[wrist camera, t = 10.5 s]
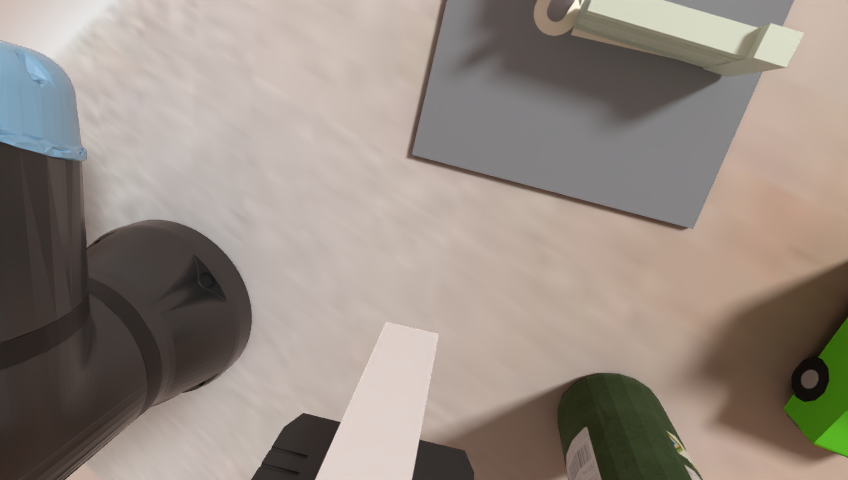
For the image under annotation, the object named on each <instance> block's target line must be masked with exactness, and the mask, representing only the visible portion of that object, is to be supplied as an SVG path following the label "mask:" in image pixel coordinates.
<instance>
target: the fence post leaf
mask: <svg viewBox="0 0 848 480" xmlns="http://www.w3.org/2000/svg"><path fill="white" fill-rule="evenodd" d="M574 1H575V0H551V1H550V4H549V6H548V9H547V16H548V18H549V19H550V20H551V21H553V22H558V21H560V20H562V19H563V18H564V17H565V15H566V14H567V12H568V10H569V9H570V7H571V6H572V4H573V3H574Z"/></svg>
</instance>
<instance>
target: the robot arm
mask: <svg viewBox="0 0 848 480" xmlns="http://www.w3.org/2000/svg"><path fill="white" fill-rule="evenodd" d="M86 159H87V152H86V149H85V148H84V147H83V146H82V145H81V137H80V128H79V120H78V112H77V104H76V96H75V91H74V87H73V85H72V82H71V80H70V79H69V77H68V75H67V74H66V73H65V71H64V70H63V69H62V68H61V67H60V66H59V65H58V64H56V63H55V62H54V61H53V60H51V59H50V58H48V57H47V56H45V55H43V54H41V53H39V52H37V51H34V50H31V49H29V48H25V47H22V46H18V45H15V44H12V43H8V42H4V41H1V40H0V480H65V479H66V478H67V477H69V476H70V475H71V474H72V473H73V472H74V471H76V470H77V469H78V468H79V467H80V466H81V465H83V464H84V463H85V462H86V461H87V460H88V459H90V458H91V457H92V456H93V455H94V454H95V453H97V452H98V451H99V450H100V449H101V448H102V447H104V446H105V445H106V444H107V443H108V442H110V441H111V440H112V439H113V438H114V437H115V436H117V435H118V434H119V433H120V432H121V431H122V430H124V429H125V428H126V427H127V426H128V425H129V424H130V423H132V422H133V421H134V420H135V419H136V418H138V417H139V416H140V415H141V414H143V413H144V412H145V411H146V410H147V409H149V408H150V407H152V406H155V405H158V404H160V403H162V402H165V401H167V400H169V399H171V398H174V397H175V396H177V395H179V394H180V393H184V392H189V391H192V390H195V389H198V388H200V387H203V386H205V385H207V384H209V383H210V382H212V381H213V380H215V379H216V378H218V377H219V376H220V375H221V374H222V373H223V372H225V371H226V370H227V369H228V368H229V367H230V366H231V365H232V364H233V363H234V362H235V361H236V360H237V359H238V358H239V357H240V355H241V354H242V352H243V350H244V349H245V346H246V344H247V342H248V339H249V335H250V331H251V322H252V315H251V305H250V300H249V296H248V292H247V290H246V287H245V284H244V282H243V280H242V278H241V276H240V274H239V272H238V270H237V269H236V267H235V266H234V264H233V263H232V262H231V260H230V259H229V258H228V256H227V255H226V254H225V253H224V252H223V251H222V250H221V249H220V248H219V247H218V246H217V245H216V244H215V243H213V242H212V241H211V240H210V239H208V238H207V237H205V236H204V235H202V234H201V233H199V232H197V231H196V230H194V229H192V228H189V227H187V226H185V225H182V224H179V223H175V222H171V221H165V220H147V221H141V222H137V223H133V224H130V225H127V226H123V227H120V228H117V229H114V230H112V231H110V232H108V233H106V234H104V235H102V236H101V237H99V238H98V239H97V240H95V241H94V242H93V243H92V244H91V245H90V246H89V247H88V248H87V245H86V231H85V216H84V199H83V177H82V161H84V160H86ZM438 337H439V334H438V333H433V332H429V331H425V330H420V329H416V328H411V327H407V326H403V325H398V324H394V323H390V322H386V323H385V325H384V327H383V330H382V332H381V334H380V336H379V339H378V341H377V343H376V345H375V348H374V350H373V352H372V354H371V356H370V359H369V361H368V363H367V365H366V368H365V370H364V372H363V374H362V376H361V379H360V381H359V383H358V385H357V388H356V390H355V392H354V394H353V396H352V399H351V401H350V403H349V405H348V408H347V410H346V412H345V414H344V417H343V419H342V421H341V422H338V421H334V420H330V419H326V418H321V417H317V416H313V415H309V414H305V413H303V414H301V415H300V416H299V417H297V418H296V419H295V420H293V421H292V422H290V423H289V424H288V425H286V426H285V427H284V428H283V430H282V431H281V433H280V434H279V436H278V438H277V439H276V441H275V442H274V444H273V446H272V448H271V450H269V452H268V454H267V455H266V457H265V458H264V460H263V462H262V464H261V467H259V468H258V470H257V471H256V473H255V475H254V476H253V478H252V479H251V480H474V471H473V469H472V467H471V464H470V462H469V460H468V458H467V455H466V453H465V451H463V450H459V449H455V448H451V447H447V446H443V445H439V444H435V443H430V442H426V441H422V440H419V439H420V433H421V428H422V423H423V417H424V412H425V407H426V401H427V396H428V390H429V385H430V380H431V374H432V369H433V364H434V358H435V353H436V348H437V342H438Z"/></svg>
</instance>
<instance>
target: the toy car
mask: <svg viewBox="0 0 848 480" xmlns="http://www.w3.org/2000/svg"><path fill="white" fill-rule="evenodd" d="M818 358H820V359H822V360H823V361H824V362H823V361H821V360H818V359H815V358H812V359H807V360H804V361H803V362H802V363H800V364H799V366H798V367H797V368H796V370H795V371H794V373H793V375H792V389H793V391H794V392H795V394H796V395H795V394H793V395H792V397H791V398H790V400H789V401H788V403H787V404H786V406H785V407H784V408H783V409H784V411H785V412H786V413H787V415H788V417H789V418H790V419H791V420H792V421H793V422H794V424H795V425H796V426H798V428H799V429H800V430H801V431H802V432H803V434H804V435H805V436H806V437H807V438H808V439H809V440H810V441H811V443H812V444H813V445H815V446H818V447H820V448H823V449H825V450H828V451H830V452H835V453H837V454H840V455H842V456H845V457H847V458H848V317H847V319H846V320H845V321H844V323H843V324H842V325H841V327H840V328H839V329H838V331H837V332H836V333H835V335H834V336H833V337H832V339H831V340H830V342H829V343H828V344H827V346H826V347H825V348H824V350H823V351H822V352H821V354H820V355H819V357H818Z"/></svg>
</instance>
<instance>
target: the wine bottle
mask: <svg viewBox="0 0 848 480" xmlns="http://www.w3.org/2000/svg"><path fill="white" fill-rule="evenodd" d="M558 427H559V432H560V438H561V443H562V448H563V454H564V459H565V465H566V470H567V476H568V480H703V479H702V478H701V476H700V474H699V472H698V470H697V469H696V467H695V465H694V463H693V461H692V459H691V458H690V456H689V454H688V452H687V450H686V449H685V447H684V445H683V443H682V441H681V440H680V438H679V436H678V434H677V432H676V431H675V429H674V427H673V425H672V423H671V421H670V420H669V418H668V416H667V414H666V412H665V411H664V409H663V407H662V405H661V403H660V402H659V400H658V399H657V397H656V396H655V395H654V394H653V392H652V391H651V390H650V388H648V387H647V386H645V385H644V384H642V383H640V382H639V381H637V380H636V379H634V378H631V377H627V376H624V375H621V374H609V373H601V374H597V375H593V376H589V377H586V378H584V379H582V380H580V381H579V382H577V383H575V384H573V386H572V387H571V388H570V389H569V390H568V391H567V392H566V393H565V394H564V396H563V398H562V400H561V403H560V405H559V408H558Z"/></svg>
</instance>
